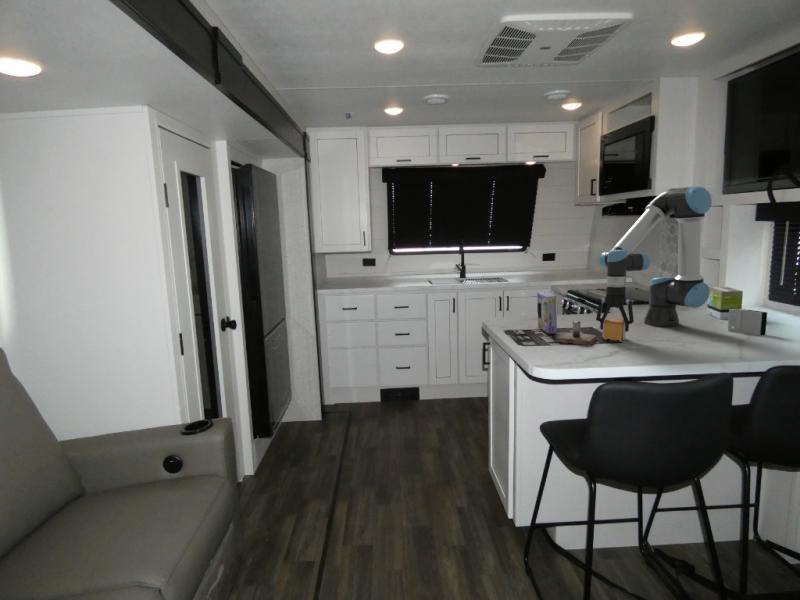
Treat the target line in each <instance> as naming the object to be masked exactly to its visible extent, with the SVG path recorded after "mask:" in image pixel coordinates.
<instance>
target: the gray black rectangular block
mask: <svg viewBox="0 0 800 600" xmlns="http://www.w3.org/2000/svg"><path fill="white" fill-rule="evenodd" d="M733 313H735V315H733ZM727 320H728V321H727V322H728V323H727V332H733V333H734V332H735V333H737V332H738V333H745V334H748V335H754V334H755V336H762V335H763V336H766V331H767V322H768V321H767V320H768V312H767V311H761V310H754V309H744V308H742V309H739V310H736V309H729V319H727Z"/></svg>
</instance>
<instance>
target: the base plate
mask: <svg viewBox="0 0 800 600" xmlns="http://www.w3.org/2000/svg"><path fill="white" fill-rule="evenodd" d="M595 340H596V341H597V334H586V333H580V337H573V332H569V331H568V332H565V331H563V332H562V333H560V334H559V335H558V336H555V342H556V343H559V342H562V343H561V344H568V343H573V344H572V345H578V344H583V345H582V346H587V345H590V346H591V345H592V344H594V343H595V342H596V341H595ZM594 341H595V342H594Z"/></svg>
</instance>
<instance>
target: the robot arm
mask: <svg viewBox="0 0 800 600" xmlns="http://www.w3.org/2000/svg"><path fill="white" fill-rule="evenodd" d="M711 207H712V196H711V194H710V192H709V191H708V190H707V188H705V187H703V186H687V187H680V188H679V187H678V188H677V187H676V188H675V187H673V188H669V189H667V190H664V191H663V192H661V193H660V194H659V195H657V196H656V197H655V198H653V199H652V200H651V201H650V202H649V203H648V204H647V205H646V206H645V209H644V212H643V213H642V215H640V217H639V218H638V219H637V220H636V221H635V222H634V224H632V226H631V227H630V228H629V229H628V230H627V231H626V232H625V234H624V235H623V236H622V237H621V238H620V239H619V240H618V242H617V243H616V244H615V245H614V246H613V247H612V248H611V249H610V250H609V251H604V252H602V253H601V254H600V256H599V264H600V265H601V267H603V268H606V275H607V276H606V285H607V286H606V289H605V290H606V293H605V294H606V295H605V297H600V298H599V299H598V309H597V313H596V319H595V321H598V322H599V324H600V327H599V328H600V330H602V338H604V321H605V320H606V319H607V316H608V315H609V312H610V310H611V308H617V309H618V310H619V312H620V314H621V316H622V320H624V322H625V323H624V324H623V339H622V340H624V341H625V340H626V339H627V337H626V336H627V335H626V334H627V333H628V332H629V329H630V325H631V324H633V323H634V322H635V320H634V311H633V303H634V300H633V299H627V297H626V291H627V289H626V285H627V272H641V271H646V270H647V269H648V268H649V267H650V265H651V258H650V256H649V255H648V254H647V253H642V252H638V253H634V252H633V251H635V249H636V248H637V247H638V245H640V243H641V242H642V241H643V240H644V239H645V238H646V237H647V235H648V234H649V233H650V232H651V231H652V230H653V229H654V227H655V226H656V225H657V224H658V223H659V222H661V221H663V220H665V218H666V217H668V216H670V215H674V220H676V221H677V223H678V226H677V227H678V228H677V229H678V230H677V231H678V232H677V235H678V238H677V239H678V240H677V244H678V245H677V246H678V247H677V249H678V250H677V254H678V255H677V275H676V276H662V277H652V278H651V279H650V282H649V294H648V295H649V298H648V299H649V303H648V309H647V312H646V314H645V316H644V321H643V322H644V324H646V325H650V326H656V327H677V326H679V325H680V318H679V315H678V312H677V306H681V307H686V308H694V309H695V308H700V307H702V306H703V305H705V303H706V302H708V297H709V294H710V289H709V287H710V286H709V285H708V284H707V283H706V282H704V276H702V274H701V270H700V268H701V221H702V220H703V219H704V218H705V213H707V212H708V211H710V208H711ZM605 302H606V304H607V306H606V309H605V310H604V312H603V315H602V311H603V306H604V303H605ZM625 303H626V305H627V308H628V309H627V310H628V314H627V313H626V310H625V307H624V304H625ZM627 315H628V316H627ZM601 316H602V317H601Z"/></svg>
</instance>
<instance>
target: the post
mask: <svg viewBox="0 0 800 600" xmlns="http://www.w3.org/2000/svg"><path fill="white" fill-rule="evenodd" d="M572 333H573V337H580V334H581V321H580V320H573V321H572Z"/></svg>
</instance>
